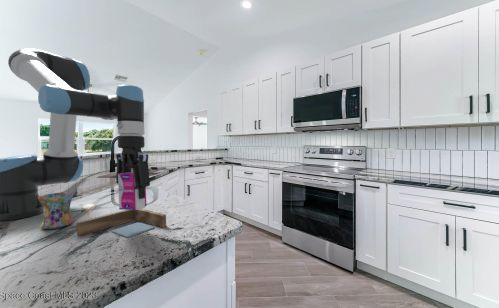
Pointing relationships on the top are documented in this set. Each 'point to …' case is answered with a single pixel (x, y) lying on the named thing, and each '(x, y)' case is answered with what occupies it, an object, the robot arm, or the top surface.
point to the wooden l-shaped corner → (120, 220)
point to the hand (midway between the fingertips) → (133, 206)
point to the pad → (132, 229)
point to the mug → (56, 210)
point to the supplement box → (127, 191)
